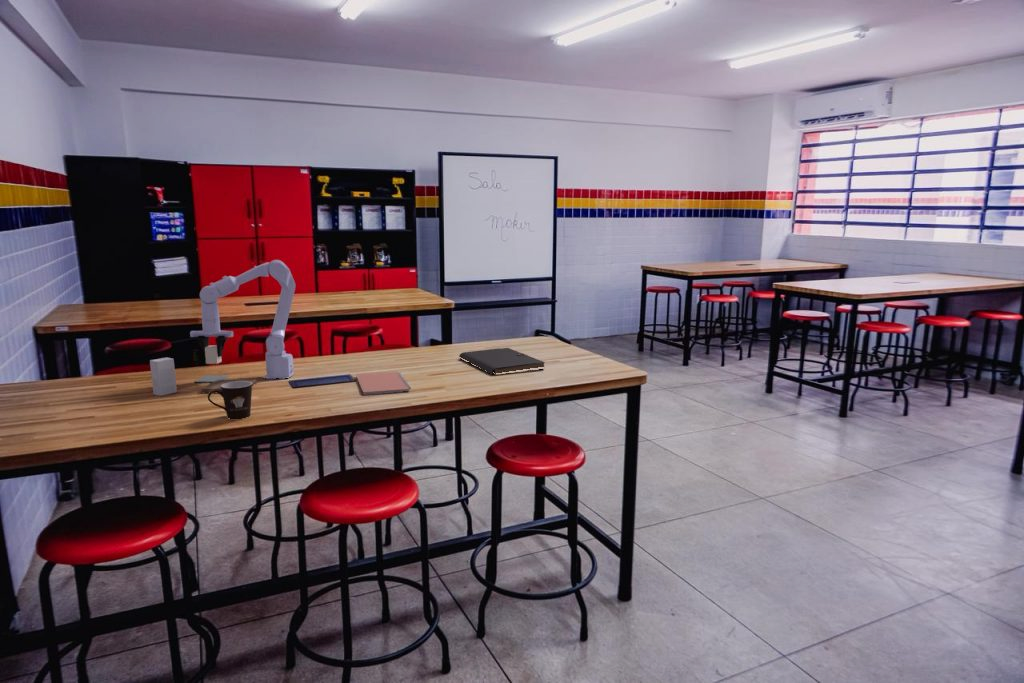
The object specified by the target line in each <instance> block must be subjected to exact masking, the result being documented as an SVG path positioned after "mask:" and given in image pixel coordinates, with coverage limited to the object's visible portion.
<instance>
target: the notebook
mask: <svg viewBox="0 0 1024 683" xmlns="http://www.w3.org/2000/svg"><path fill="white" fill-rule="evenodd" d="M355 376H356V379H357V381H358V384H359V386H360V388H361V391H362V394H363V395H364V396H368V395H381V394H383V393H384V394H393V393H394V392H397V393H404V392H403V391H409V392H410V389H411V390H412V387H411V385H410V384H409V383H408V381H407V380H406V379H405V378H404V376H403V374H402V373H401V372H399V371H384V372H383V371H382V372H370V373H369V372H368V373H367V372H366V373H356V374H355ZM404 381H405V382H404ZM408 387H409V388H410V389H409V388H408ZM384 394H383V395H384Z"/></svg>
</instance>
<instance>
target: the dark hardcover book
mask: <svg viewBox="0 0 1024 683" xmlns="http://www.w3.org/2000/svg"><path fill="white" fill-rule="evenodd" d="M459 357H461V358H463V359H465V360H467V361H469V362H470V363H472V364H474V365H476V366H478V367H480V368H481V369H483V370H486V371H487V372H489V373H491V374H493V372H494V373H495V374H496V373H502V372H509V371H516V370H523V369H530V368H538V367H544V368H545V361H543V360H541V359H537V358H535V357H532V356H530V355H528V354H526V353H522V352H520V351H517V350H514V349H513V348H509V347H503V348H490V349H482V350H471V351H463V352H461V353H460V354H459V356H458V358H459ZM481 369H480V370H481ZM483 370H482V371H483ZM487 372H486V373H487ZM489 373H488V374H489ZM491 374H490V375H491ZM495 374H493V375H495Z"/></svg>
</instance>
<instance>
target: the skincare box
mask: <svg viewBox="0 0 1024 683" xmlns="http://www.w3.org/2000/svg"><path fill="white" fill-rule="evenodd" d="M149 366H150V373H151V374H150V375H151V384H152V392H153V395H154V394H155V396H159V397H163V396H165V395H171V394H175V393H177V392H178V391H177V390H178V388H177V379H176V371H175V370H176V369H175V361H174V358H171V357H167V356H166V357H161V358H157V359H150V360H149Z"/></svg>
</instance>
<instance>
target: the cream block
mask: <svg viewBox="0 0 1024 683" xmlns="http://www.w3.org/2000/svg"><path fill="white" fill-rule="evenodd" d="M204 357H205V364H206V365H208V364H209V365H210V364H211V365H215V364H216V365H218V364H219V363H222V362H223V361H222V359H223V358H222V356H221V357H218V353H217V344H216V345H209V346H207V347H205V355H204Z"/></svg>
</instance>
